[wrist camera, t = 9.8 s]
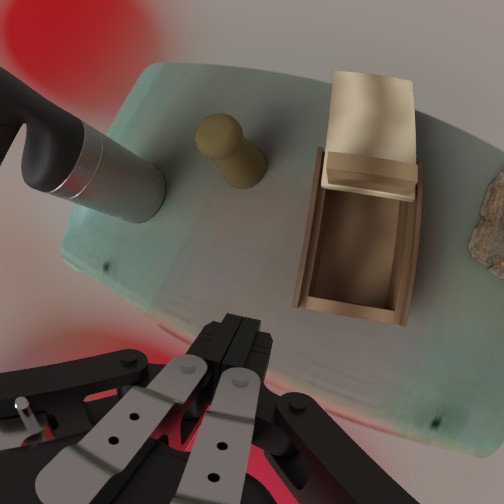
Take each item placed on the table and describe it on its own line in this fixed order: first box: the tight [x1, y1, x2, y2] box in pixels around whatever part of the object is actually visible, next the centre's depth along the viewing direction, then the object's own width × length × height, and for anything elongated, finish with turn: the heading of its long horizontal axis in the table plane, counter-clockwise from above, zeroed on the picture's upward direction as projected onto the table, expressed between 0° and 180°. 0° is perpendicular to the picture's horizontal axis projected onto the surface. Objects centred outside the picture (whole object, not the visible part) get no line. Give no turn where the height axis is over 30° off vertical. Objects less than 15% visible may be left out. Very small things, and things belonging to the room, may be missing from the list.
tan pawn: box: [195, 114, 267, 189], centre depth 35 cm, size 6×6×11 cm
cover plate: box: [321, 71, 418, 202], centre depth 26 cm, size 9×15×5 cm, turn 170°
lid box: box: [292, 147, 423, 326], centre depth 31 cm, size 11×16×8 cm
